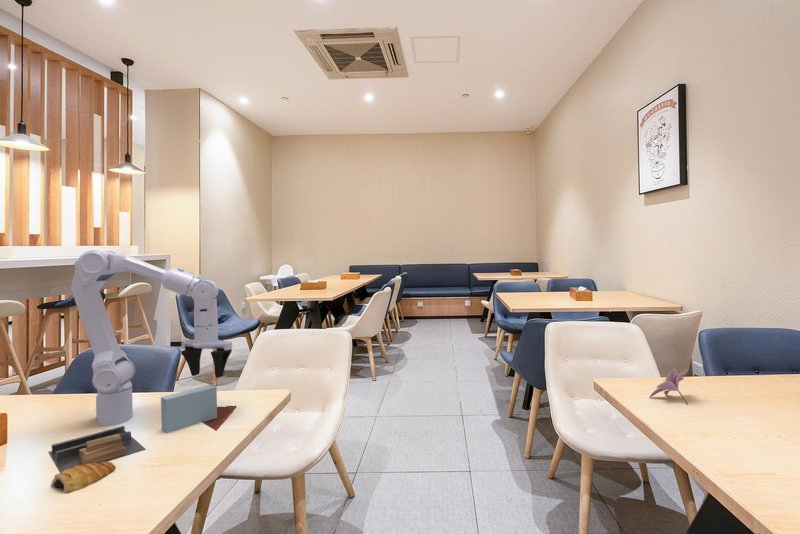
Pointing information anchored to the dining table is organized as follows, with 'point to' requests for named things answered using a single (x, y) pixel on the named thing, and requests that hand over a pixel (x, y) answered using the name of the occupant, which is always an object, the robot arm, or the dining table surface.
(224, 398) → the dining table surface
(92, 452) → the offcuts
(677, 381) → the lily
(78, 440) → the metal plate
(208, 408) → the pale blue upright panel
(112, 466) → the pastry
